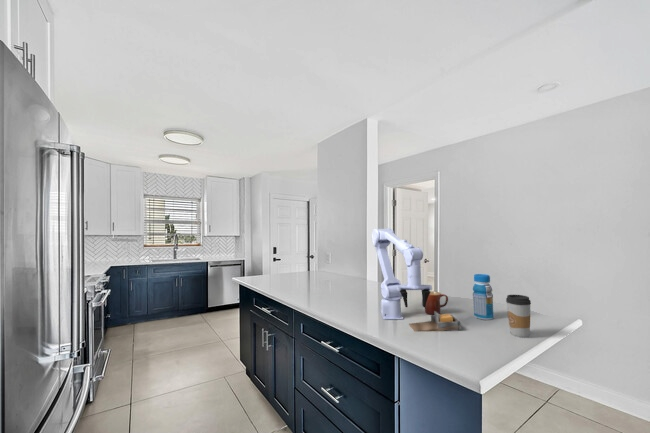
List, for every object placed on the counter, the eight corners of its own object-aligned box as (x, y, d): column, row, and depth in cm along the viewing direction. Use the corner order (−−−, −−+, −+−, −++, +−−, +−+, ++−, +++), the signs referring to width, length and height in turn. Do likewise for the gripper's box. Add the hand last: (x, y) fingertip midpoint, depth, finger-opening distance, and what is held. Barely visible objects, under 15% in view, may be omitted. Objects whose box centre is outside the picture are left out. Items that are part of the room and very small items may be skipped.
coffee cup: (502, 331, 120) (500, 294, 121) (522, 330, 121) (520, 293, 121) (517, 339, 112) (515, 299, 112) (538, 338, 113) (536, 298, 113)
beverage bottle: (474, 319, 137) (472, 276, 138) (473, 314, 145) (471, 273, 146) (495, 321, 134) (493, 276, 135) (492, 315, 142) (490, 273, 143)
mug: (425, 316, 144) (424, 295, 144) (421, 311, 152) (420, 291, 153) (451, 316, 142) (450, 295, 143) (445, 311, 151) (444, 291, 152)
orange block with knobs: (438, 326, 125) (438, 314, 125) (433, 321, 131) (433, 310, 131) (454, 325, 124) (453, 314, 125) (448, 321, 131) (448, 310, 131)
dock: (414, 333, 123) (413, 322, 123) (408, 325, 133) (408, 315, 133) (460, 333, 122) (460, 321, 123) (451, 325, 132) (451, 314, 132)
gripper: (399, 277, 125) (400, 309, 125) (433, 276, 125) (434, 309, 124) (396, 274, 133) (397, 305, 132) (428, 274, 132) (429, 304, 131)
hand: (415, 306), depth 129 cm, fingers open, 7 cm apart
